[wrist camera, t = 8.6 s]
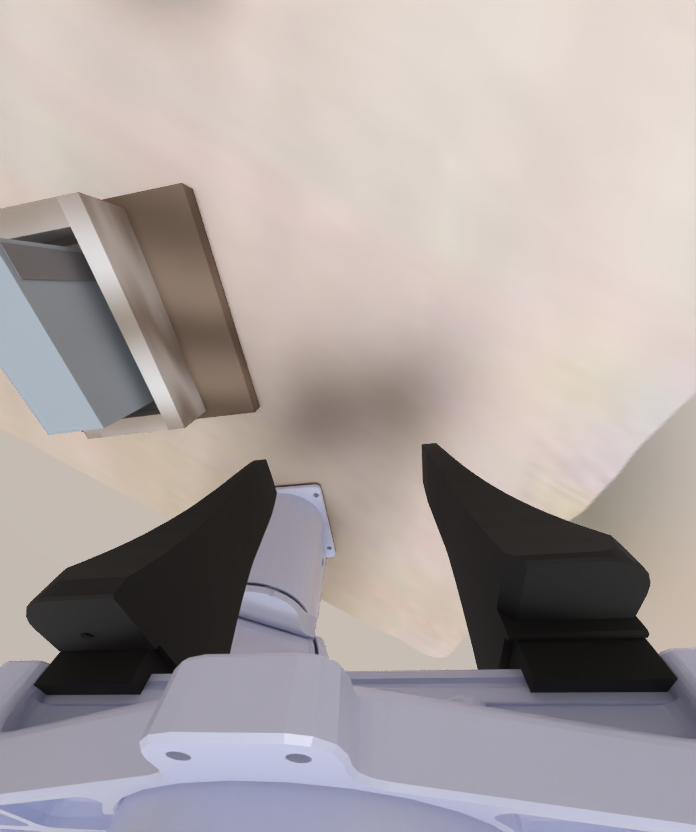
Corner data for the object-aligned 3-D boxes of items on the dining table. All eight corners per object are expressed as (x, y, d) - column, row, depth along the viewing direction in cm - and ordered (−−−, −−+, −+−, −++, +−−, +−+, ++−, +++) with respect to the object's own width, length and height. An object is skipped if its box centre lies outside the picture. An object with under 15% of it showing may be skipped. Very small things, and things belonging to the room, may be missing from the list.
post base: (259, 406, 22) (240, 429, 18) (92, 426, 23) (45, 450, 20) (192, 188, 16) (144, 161, 12) (-26, 234, 17) (-122, 220, 14)
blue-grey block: (173, 390, 20) (105, 428, 15) (129, 396, 21) (46, 434, 15) (113, 253, 16) (-10, 235, 11) (59, 263, 17) (-84, 251, 11)
